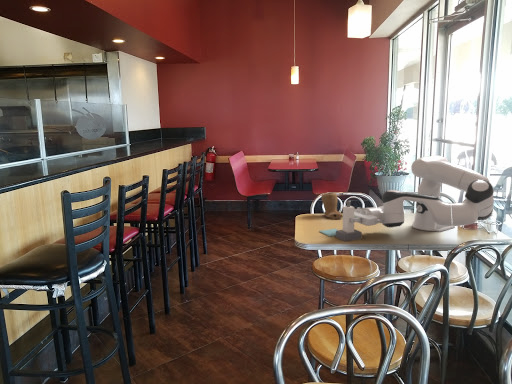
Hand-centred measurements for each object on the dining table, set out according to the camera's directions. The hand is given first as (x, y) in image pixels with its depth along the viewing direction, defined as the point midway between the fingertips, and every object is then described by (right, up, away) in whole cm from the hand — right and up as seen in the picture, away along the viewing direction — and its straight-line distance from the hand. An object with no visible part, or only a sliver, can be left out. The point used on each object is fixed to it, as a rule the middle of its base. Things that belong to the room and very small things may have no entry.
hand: (347, 219), depth 203 cm
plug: (+1, -9, +2) cm, 9 cm away
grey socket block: (+1, -10, +2) cm, 10 cm away
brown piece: (+1, -2, +47) cm, 47 cm away
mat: (-5, -8, +11) cm, 14 cm away
